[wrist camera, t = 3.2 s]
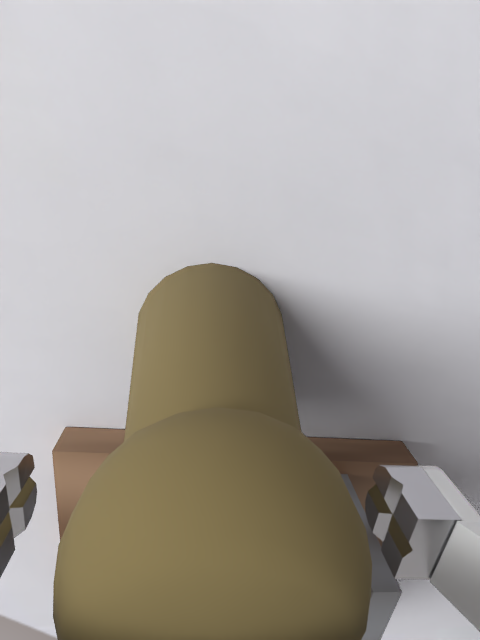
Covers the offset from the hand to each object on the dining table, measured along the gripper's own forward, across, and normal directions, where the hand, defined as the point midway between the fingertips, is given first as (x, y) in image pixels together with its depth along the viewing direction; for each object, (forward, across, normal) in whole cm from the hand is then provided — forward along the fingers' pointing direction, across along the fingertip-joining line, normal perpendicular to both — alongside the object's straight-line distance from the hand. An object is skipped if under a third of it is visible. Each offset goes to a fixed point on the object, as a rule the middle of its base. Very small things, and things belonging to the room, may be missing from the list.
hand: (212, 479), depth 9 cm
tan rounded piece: (+7, 0, -1) cm, 7 cm away
